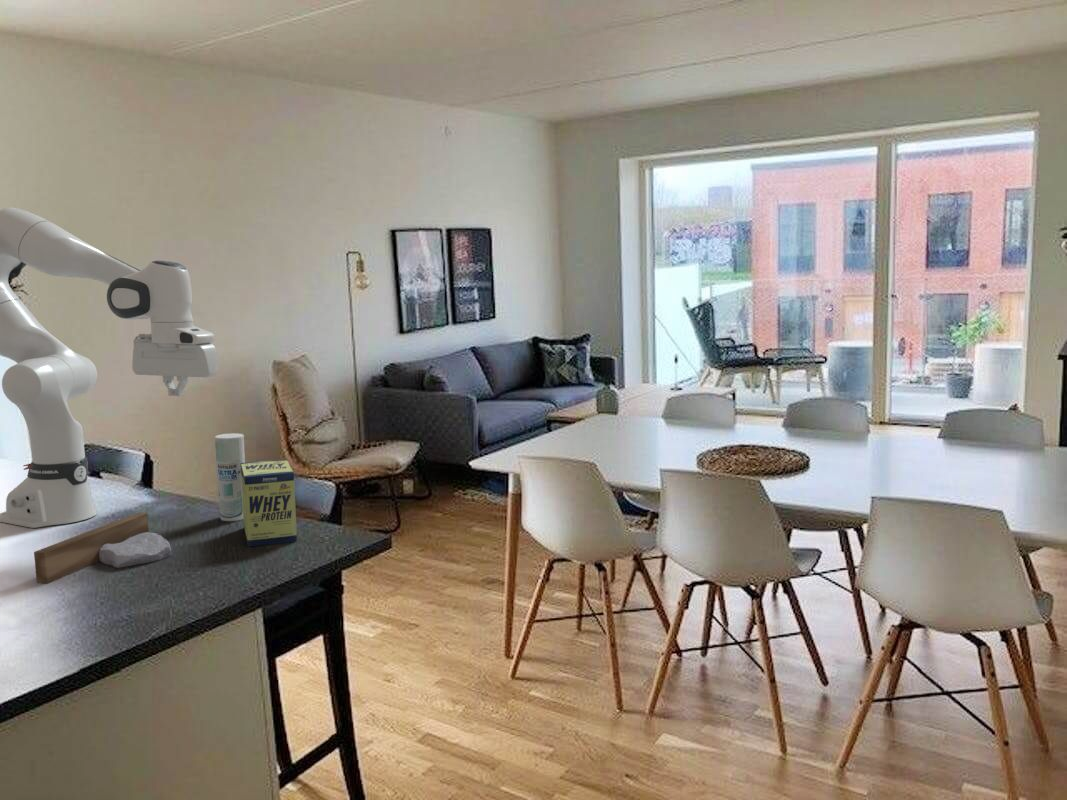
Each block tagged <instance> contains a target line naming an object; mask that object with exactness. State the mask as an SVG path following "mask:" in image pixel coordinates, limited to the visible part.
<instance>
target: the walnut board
mask: <svg viewBox="0 0 1067 800" xmlns="http://www.w3.org/2000/svg"><path fill="white" fill-rule="evenodd" d="M148 515H149V514H148V513H147V512H135V513H133V514H130V515H128V516H125V517H122V518H120V519H117V520H115V521H113V522H109V523H107V524H104V525H102V526H98V527H96V528H94V529H90V530H88V531H85V532H83V533H80V534H77V535H75V536H72V537H70V538H68V539H67V538H66V539H64V540H62V541H59V542H57V543H54V544H51V545H49V546H46V547H43V548H41V549H38V550H35V551H34V552H33V557H34V569H35V577H36V583H39V584H50V583H52V582H55V581H57V580H58V579H59V580H60V579H61V578H63V577H67V576H68V575H71V574H74V573H77V571H79V570H82V569H85V568H87V567H89V566H92V565H94V564H97V563H99V562H101V561H100V559H99V551H100V548H101V547H102V546H103V545H105V544H116V543H121V542H123V541H125V540H127V539H128V538H130V537H133V536H136V535H138V534H141V533H146V532H148V533H150V531H149V517H148Z"/></svg>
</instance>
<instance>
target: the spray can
mask: <svg viewBox="0 0 1067 800" xmlns="http://www.w3.org/2000/svg"><path fill="white" fill-rule="evenodd" d="M214 444H215V445H214V446H215V448H214V449H215V460H216V462H215V463H216V475H217V489H218V490H217V491H218V505H219V506H218V507H219V518H220V520H221V521H223V522H224V521H225V522H236V521H241V520H244V518H243V502H242V483H241V465H240V464H241V463H246V454H245V435H244V434H243V433H237V432H236V433H234V432H232V433H222V434H217V435H215V436H214Z"/></svg>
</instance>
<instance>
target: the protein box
mask: <svg viewBox="0 0 1067 800" xmlns="http://www.w3.org/2000/svg"><path fill="white" fill-rule="evenodd" d="M240 465H241V483H242V502H243V518H244V519H243V528H244V535H245V539H246V543H247V544H246V545H247V547H249V548H250V547H257V546H267V545H275V544H286V543H294V542H298V540H297V538H298V537H297V536H298V535H297V534H298V533H297V532H298V531H297V518H296V517H297V513H296V512H297V511H296V495H295V494H296V492H295V472H294V471H293V468H292V467H291V465H290V463H289V461H288V460H287V459H275V460H262V461H248V462H246V461H245V463H241V464H240Z"/></svg>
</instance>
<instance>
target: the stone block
mask: <svg viewBox="0 0 1067 800" xmlns="http://www.w3.org/2000/svg"><path fill="white" fill-rule="evenodd" d="M170 556H172V548H171V544H170V542H169V541H168V539H166V538H164V537H163V536H162V535H161V534H158V533H156V532H149V533H148V532H146V533H141V534H138V535H136V536H133V537H130V538H128V539H127V540H125V541H123V542H121V543H116V544H105V545H103V546H102V547H101V548H100V551H99V559H100V561H99V562H100V563H103V564H105V565H109V566H113V567H114V568H117V569H119V568H120V569H121V568H125V567H129V566H135V565H140V564H146V563H151V562H157V561H161V560H163V559H166V558H168V557H170Z"/></svg>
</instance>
